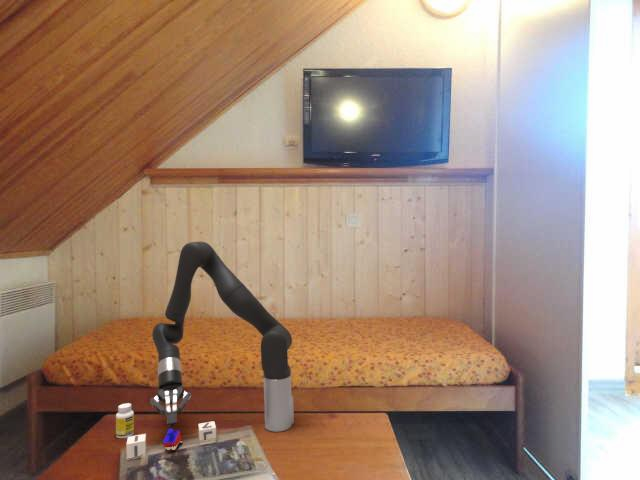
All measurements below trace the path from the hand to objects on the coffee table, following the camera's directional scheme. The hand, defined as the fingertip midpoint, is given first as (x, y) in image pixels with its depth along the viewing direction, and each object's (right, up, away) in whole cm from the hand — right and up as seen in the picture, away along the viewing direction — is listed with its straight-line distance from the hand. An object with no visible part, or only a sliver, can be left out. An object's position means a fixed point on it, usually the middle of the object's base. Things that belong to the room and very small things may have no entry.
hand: (172, 425), depth 124 cm
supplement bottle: (-19, -8, +9) cm, 23 cm away
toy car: (0, -7, 0) cm, 7 cm away
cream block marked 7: (+10, -7, +4) cm, 13 cm away
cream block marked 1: (-9, -7, -4) cm, 12 cm away
